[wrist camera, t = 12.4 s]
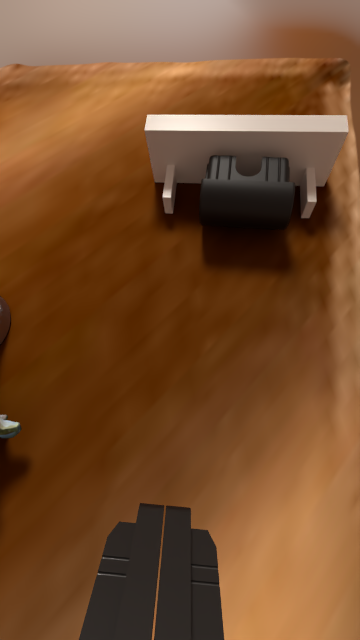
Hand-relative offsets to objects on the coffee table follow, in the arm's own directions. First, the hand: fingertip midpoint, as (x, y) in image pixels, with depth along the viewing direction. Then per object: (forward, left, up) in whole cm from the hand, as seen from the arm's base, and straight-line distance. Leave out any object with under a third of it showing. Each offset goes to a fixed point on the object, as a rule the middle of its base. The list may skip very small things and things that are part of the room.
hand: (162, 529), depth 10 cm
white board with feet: (+3, +34, -24) cm, 42 cm away
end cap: (+4, +30, -25) cm, 39 cm away
